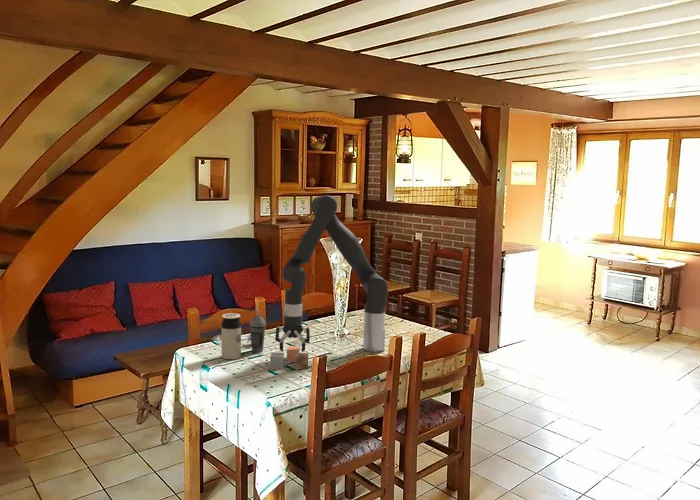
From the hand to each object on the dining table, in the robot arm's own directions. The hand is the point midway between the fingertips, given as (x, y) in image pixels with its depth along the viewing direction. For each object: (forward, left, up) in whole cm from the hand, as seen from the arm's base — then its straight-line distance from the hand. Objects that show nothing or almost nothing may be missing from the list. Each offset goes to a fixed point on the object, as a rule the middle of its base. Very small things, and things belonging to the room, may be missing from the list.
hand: (292, 351), depth 240 cm
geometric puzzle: (+18, -19, -4) cm, 26 cm away
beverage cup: (+16, -10, -4) cm, 19 cm away
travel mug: (+26, -2, -4) cm, 26 cm away
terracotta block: (0, 0, -4) cm, 4 cm away
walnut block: (-4, +9, -4) cm, 11 cm away
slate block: (+6, +9, -4) cm, 11 cm away
